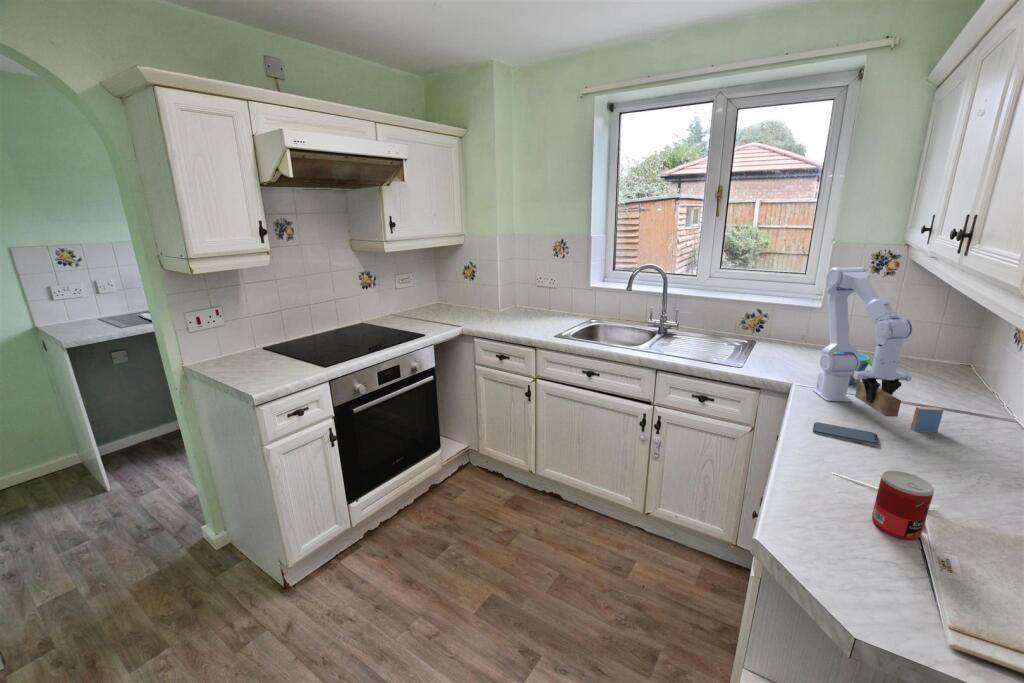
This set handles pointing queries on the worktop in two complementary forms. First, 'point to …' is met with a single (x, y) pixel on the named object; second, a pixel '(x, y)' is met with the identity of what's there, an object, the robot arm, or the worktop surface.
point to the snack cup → (863, 364)
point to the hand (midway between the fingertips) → (876, 401)
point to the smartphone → (846, 434)
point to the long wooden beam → (880, 401)
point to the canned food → (902, 504)
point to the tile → (926, 419)
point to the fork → (932, 507)
